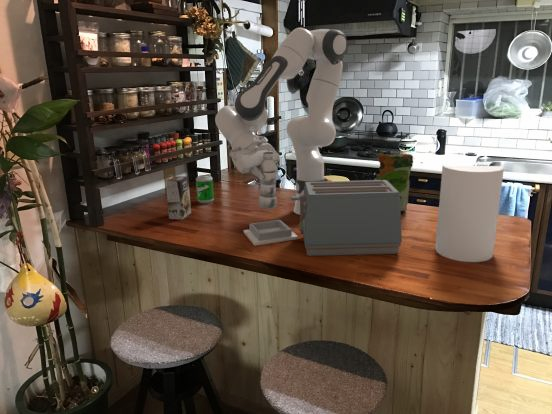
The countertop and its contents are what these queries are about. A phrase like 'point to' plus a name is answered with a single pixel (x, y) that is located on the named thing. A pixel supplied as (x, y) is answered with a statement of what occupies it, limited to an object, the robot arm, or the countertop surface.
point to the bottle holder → (269, 232)
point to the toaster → (350, 218)
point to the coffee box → (178, 197)
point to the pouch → (396, 174)
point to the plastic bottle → (268, 182)
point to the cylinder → (468, 212)
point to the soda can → (204, 189)
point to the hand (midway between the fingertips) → (269, 176)
